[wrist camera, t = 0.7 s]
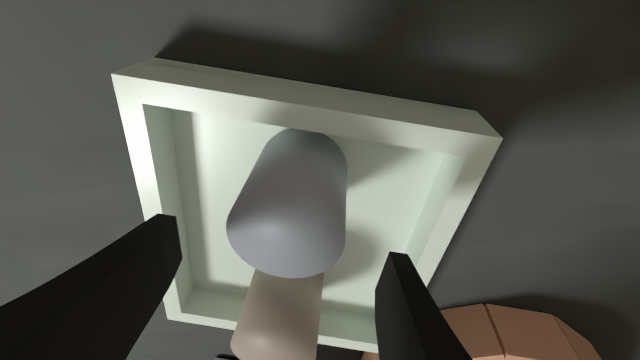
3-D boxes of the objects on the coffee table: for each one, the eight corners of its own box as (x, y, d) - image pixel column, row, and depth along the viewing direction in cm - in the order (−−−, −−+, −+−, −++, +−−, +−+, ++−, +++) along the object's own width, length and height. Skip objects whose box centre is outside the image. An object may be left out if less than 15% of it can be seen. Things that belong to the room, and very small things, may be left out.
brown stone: (318, 299, 21) (310, 378, 17) (255, 289, 21) (231, 365, 17) (328, 255, 19) (321, 334, 14) (257, 243, 19) (229, 319, 14)
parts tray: (386, 314, 23) (391, 355, 20) (188, 282, 23) (167, 319, 20) (476, 110, 14) (503, 138, 12) (153, 57, 14) (111, 73, 12)
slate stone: (338, 209, 17) (334, 286, 12) (258, 196, 17) (227, 268, 12) (355, 136, 14) (356, 200, 10) (261, 120, 14) (223, 179, 10)
